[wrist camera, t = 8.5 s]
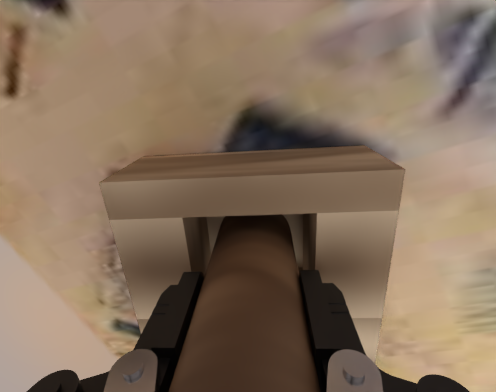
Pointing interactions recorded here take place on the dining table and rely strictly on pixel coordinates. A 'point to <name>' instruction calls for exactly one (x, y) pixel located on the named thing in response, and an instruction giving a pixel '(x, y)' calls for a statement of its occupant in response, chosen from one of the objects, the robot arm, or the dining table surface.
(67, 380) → the robot arm
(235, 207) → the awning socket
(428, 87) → the dining table surface
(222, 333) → the peg
